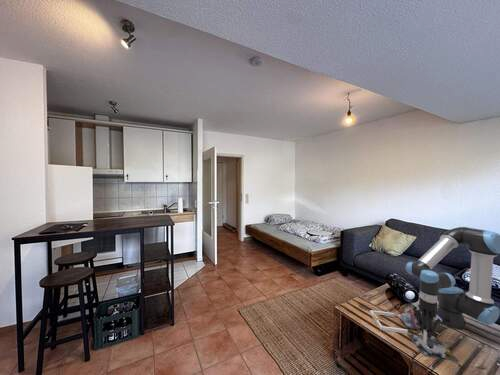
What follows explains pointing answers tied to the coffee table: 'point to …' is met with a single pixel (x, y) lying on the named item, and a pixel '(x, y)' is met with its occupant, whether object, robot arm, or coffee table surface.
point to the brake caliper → (409, 320)
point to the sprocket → (432, 345)
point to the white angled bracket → (373, 314)
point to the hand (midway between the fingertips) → (426, 341)
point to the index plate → (424, 352)
